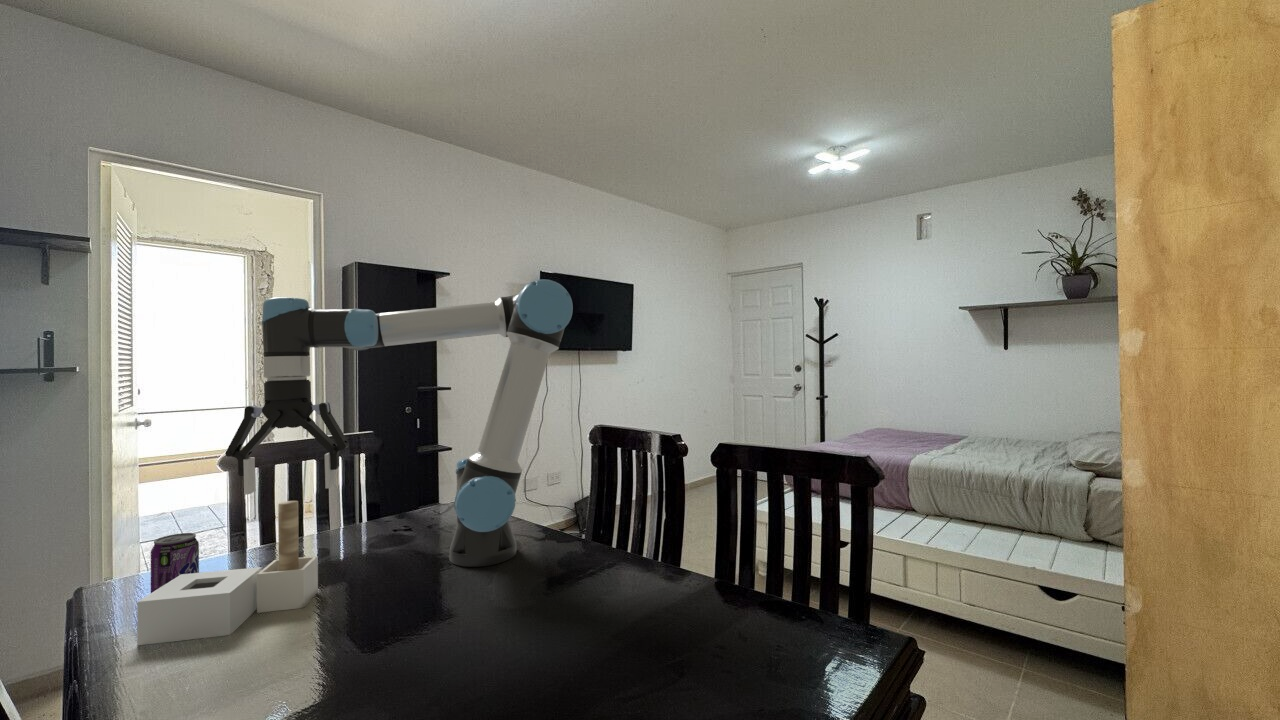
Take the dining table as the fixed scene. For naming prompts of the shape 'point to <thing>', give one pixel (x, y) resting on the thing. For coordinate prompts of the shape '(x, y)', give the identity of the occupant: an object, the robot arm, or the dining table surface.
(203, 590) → the box
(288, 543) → the wooden cylinder rod
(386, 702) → the dining table surface
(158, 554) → the beverage can
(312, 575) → the pen cup
